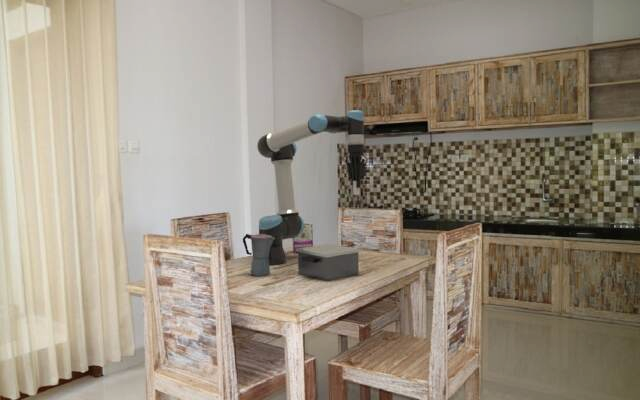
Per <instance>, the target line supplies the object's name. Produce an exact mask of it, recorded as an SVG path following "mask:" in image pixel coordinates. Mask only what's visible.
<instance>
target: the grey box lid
mask: <svg viewBox="0 0 640 400" xmlns="http://www.w3.org/2000/svg"><path fill="white" fill-rule="evenodd" d="M296 252H301V253H306V254H311V255H317V256H322V257H333V256H339V255H344V254H350V253H356V252H358V253H360V252H361V249H360V248H356V247H350V246H344V245H343V246H342V245H337V244H332V243H331V244H330V243H326V244H320V245H313V246H312V247H306V248H299V249H296Z"/></svg>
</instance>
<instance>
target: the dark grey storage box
mask: <svg viewBox="0 0 640 400" xmlns="http://www.w3.org/2000/svg"><path fill="white" fill-rule="evenodd" d="M297 260H298V265H297V266H298V267H297V268H298V275H301V276H305V277H308V278H313V279H317V280H321V281H325V282H331V281H335V280H336V281H337V280H340V279H345V278H349V277H353V276H354V277H355V276H359V275H360V273H359V252H356V253H350V254H344V255H339V256H333V257H322V256H317V255H311V254H306V253H301V252H298V253H297Z"/></svg>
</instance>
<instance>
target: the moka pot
mask: <svg viewBox="0 0 640 400" xmlns="http://www.w3.org/2000/svg"><path fill="white" fill-rule="evenodd" d="M262 233H263V231H262V230H260V234H259V233H258V234H249V233H246V234H245V235H244V236H243V238H242V242H243V246H244V249H245V253H246V255H249V256H252V262H251V267H250V275H252V276H255V277H266V276H269V275H270V274H271V271H270V265H269V259H268V257H269V251H270V246H271V244H272V242H273V240H274V239H275V238H274V237H272V236H270V235H265V234H262ZM246 239H248V240H251V249H252V250H251V251H252V252H250V251H249V249H248V248H249V247H248V245H247V241H246Z"/></svg>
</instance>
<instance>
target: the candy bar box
mask: <svg viewBox="0 0 640 400" xmlns="http://www.w3.org/2000/svg"><path fill="white" fill-rule="evenodd" d="M313 237H314V236H313V223H312V222H304V230H303V232H302V233H301V235H299V236H298V237H295V238H291V240H292V252H293V253H294V254H298V252H296V249H299V248H306V247H312V246H314V239H313Z"/></svg>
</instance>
